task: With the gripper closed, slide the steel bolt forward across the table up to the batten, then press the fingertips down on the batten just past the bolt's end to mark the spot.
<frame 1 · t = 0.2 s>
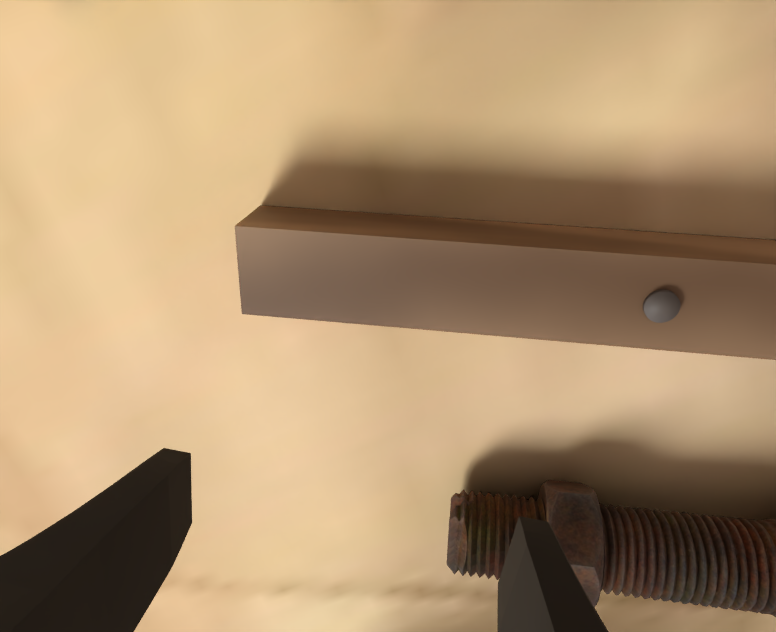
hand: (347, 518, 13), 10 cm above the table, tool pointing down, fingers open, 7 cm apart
batten: (638, 274, 20), on the table
bolt: (632, 502, 24), on the table
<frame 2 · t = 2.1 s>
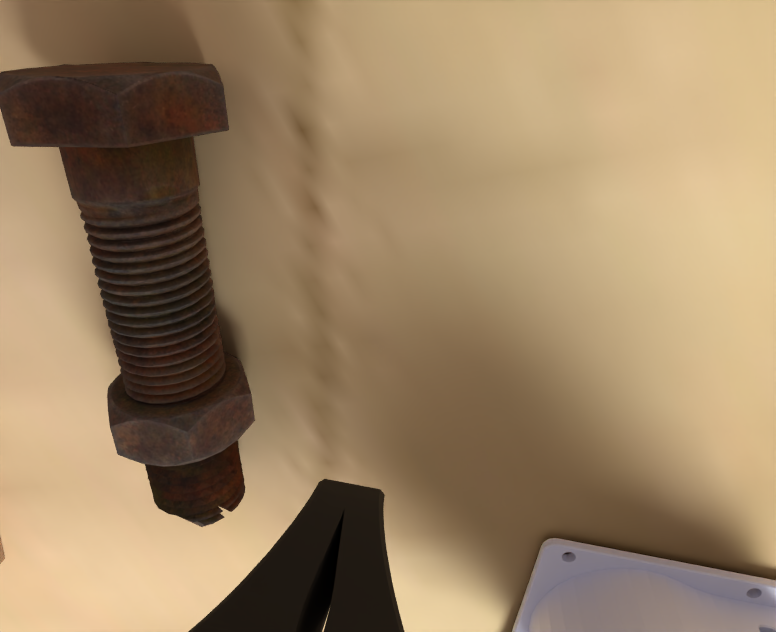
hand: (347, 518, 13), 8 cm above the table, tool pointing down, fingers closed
bolt: (195, 293, 21), on the table
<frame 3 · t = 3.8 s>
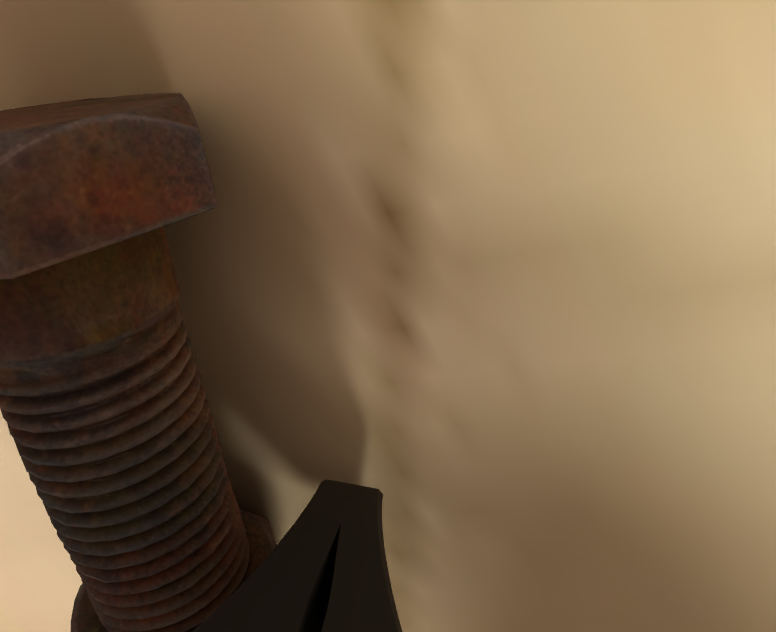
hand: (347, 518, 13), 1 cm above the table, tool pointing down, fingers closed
bolt: (197, 430, 14), on the table, touching gripper
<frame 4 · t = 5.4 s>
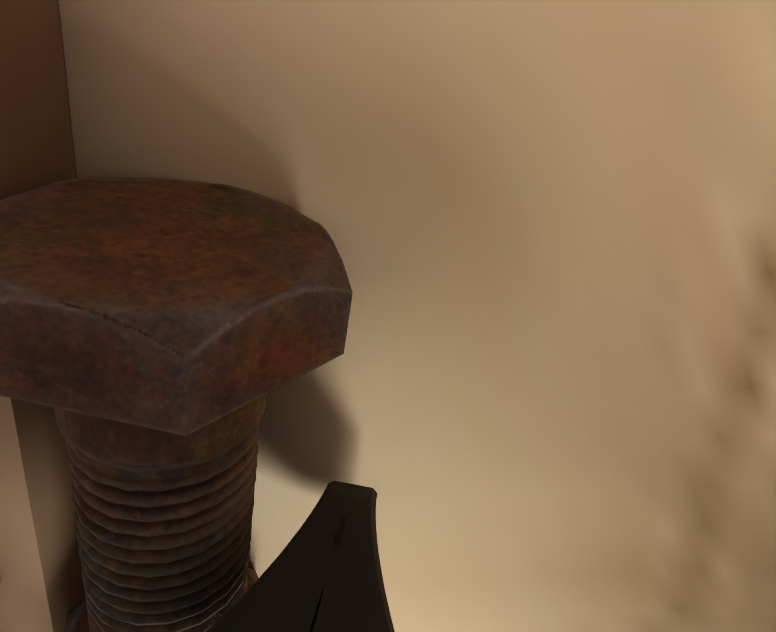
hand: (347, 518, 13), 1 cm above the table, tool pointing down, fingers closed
batten: (52, 491, 15), on the table
bolt: (211, 481, 14), on the table, touching batten, gripper
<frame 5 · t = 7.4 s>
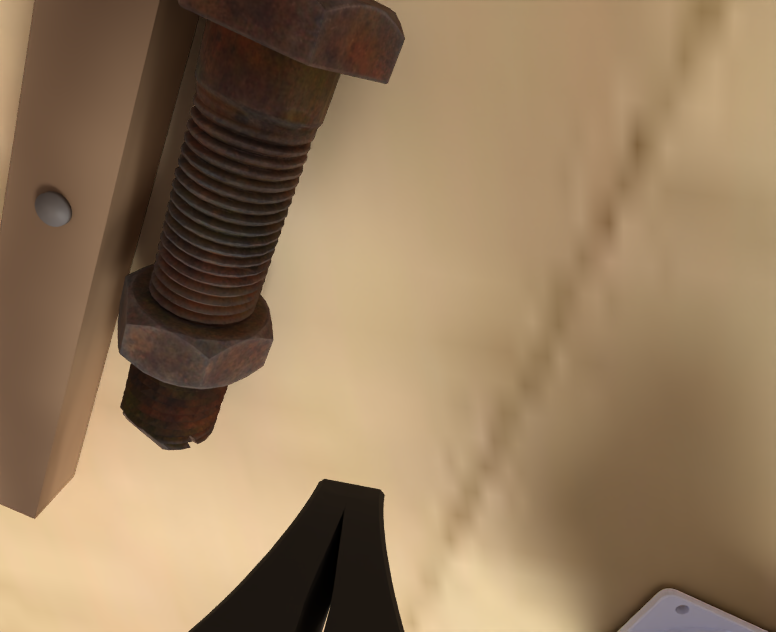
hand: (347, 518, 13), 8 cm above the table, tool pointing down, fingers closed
batten: (104, 189, 19), on the table
bolt: (245, 216, 19), on the table
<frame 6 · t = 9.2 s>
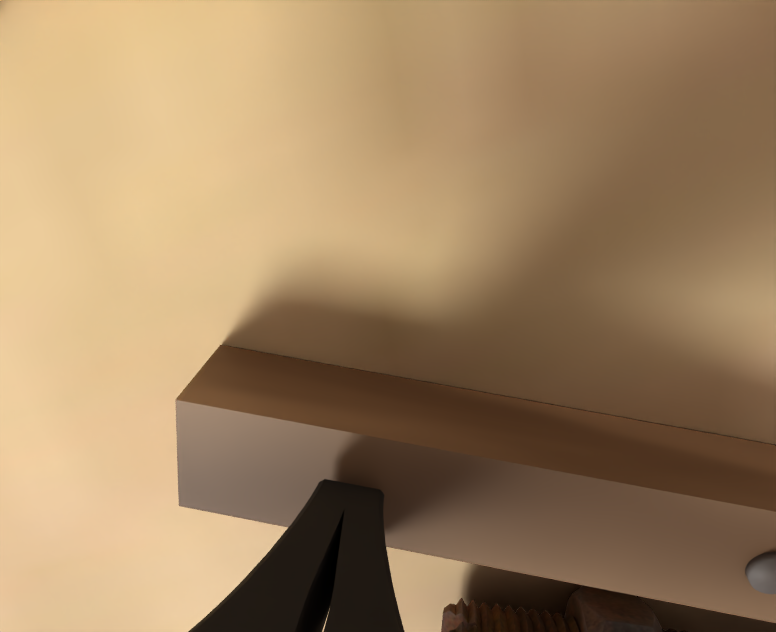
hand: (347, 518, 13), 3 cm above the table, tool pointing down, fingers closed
batten: (723, 488, 15), on the table
bolt: (698, 617, 17), on the table
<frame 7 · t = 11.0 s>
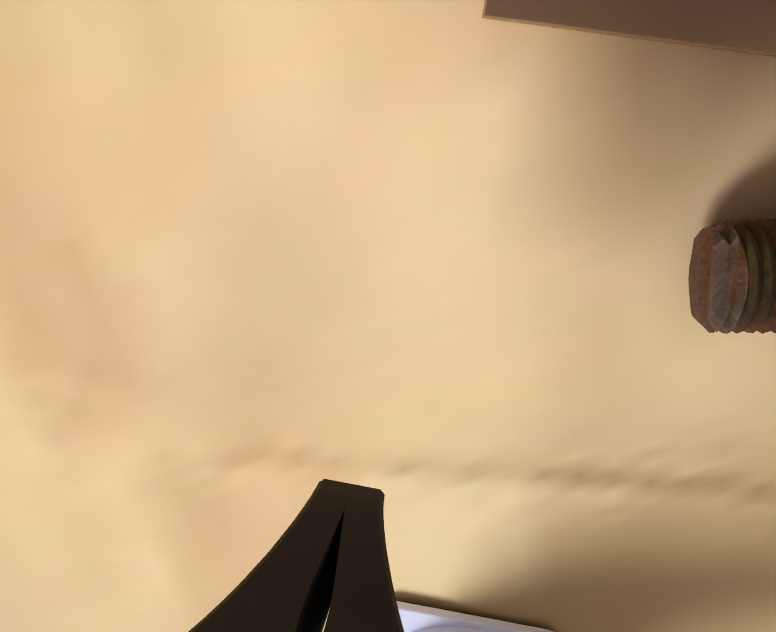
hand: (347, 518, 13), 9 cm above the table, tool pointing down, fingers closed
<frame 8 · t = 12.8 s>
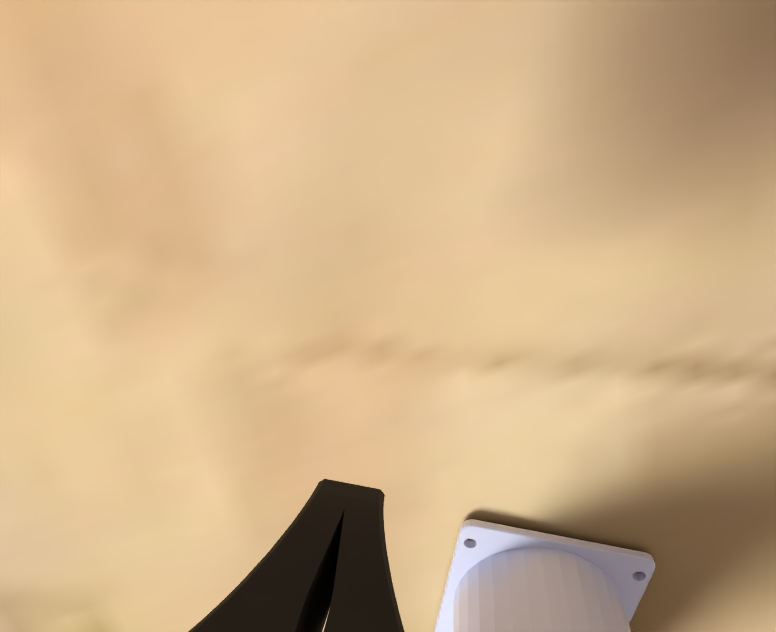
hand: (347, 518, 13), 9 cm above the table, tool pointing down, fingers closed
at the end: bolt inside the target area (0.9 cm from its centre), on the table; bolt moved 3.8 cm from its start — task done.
